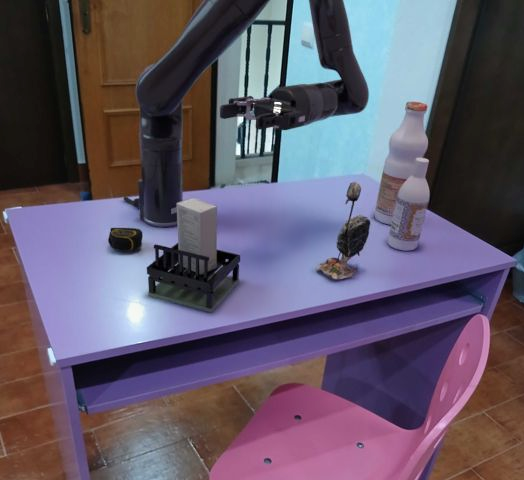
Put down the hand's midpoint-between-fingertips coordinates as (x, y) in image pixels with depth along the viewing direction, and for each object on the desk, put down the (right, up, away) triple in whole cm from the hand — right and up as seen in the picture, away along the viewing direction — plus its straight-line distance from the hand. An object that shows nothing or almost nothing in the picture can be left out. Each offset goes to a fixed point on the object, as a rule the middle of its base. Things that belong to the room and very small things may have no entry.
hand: (239, 117), depth 97 cm
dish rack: (-9, -29, +10) cm, 32 cm away
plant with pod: (+21, -24, +21) cm, 38 cm away
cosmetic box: (-8, -25, +8) cm, 27 cm away
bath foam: (+37, -16, +34) cm, 53 cm away
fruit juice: (+38, -7, +47) cm, 61 cm away
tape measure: (-26, -18, +23) cm, 39 cm away
